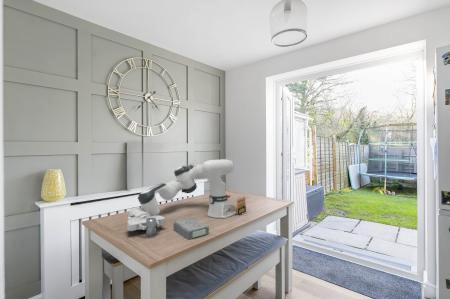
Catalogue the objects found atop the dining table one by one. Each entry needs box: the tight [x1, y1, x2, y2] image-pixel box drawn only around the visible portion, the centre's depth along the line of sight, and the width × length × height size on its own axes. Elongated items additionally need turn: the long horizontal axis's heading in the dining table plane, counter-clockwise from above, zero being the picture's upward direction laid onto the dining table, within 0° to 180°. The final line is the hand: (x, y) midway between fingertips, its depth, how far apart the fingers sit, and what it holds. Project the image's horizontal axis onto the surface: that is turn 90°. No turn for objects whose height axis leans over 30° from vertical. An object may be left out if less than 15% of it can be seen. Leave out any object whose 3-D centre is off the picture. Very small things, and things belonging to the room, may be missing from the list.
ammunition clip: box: [235, 196, 247, 216], centre depth 168 cm, size 11×2×12 cm, turn 143°
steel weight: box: [145, 218, 157, 239], centre depth 127 cm, size 5×5×9 cm
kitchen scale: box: [172, 217, 210, 240], centre depth 133 cm, size 13×18×5 cm
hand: (151, 226), depth 126 cm, fingers open, 6 cm apart
